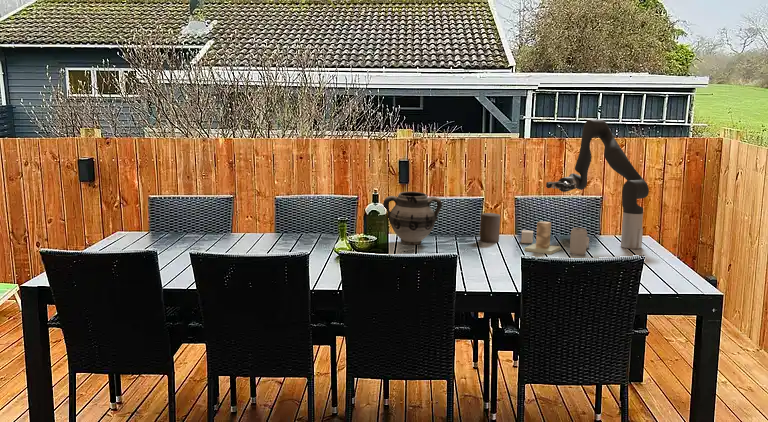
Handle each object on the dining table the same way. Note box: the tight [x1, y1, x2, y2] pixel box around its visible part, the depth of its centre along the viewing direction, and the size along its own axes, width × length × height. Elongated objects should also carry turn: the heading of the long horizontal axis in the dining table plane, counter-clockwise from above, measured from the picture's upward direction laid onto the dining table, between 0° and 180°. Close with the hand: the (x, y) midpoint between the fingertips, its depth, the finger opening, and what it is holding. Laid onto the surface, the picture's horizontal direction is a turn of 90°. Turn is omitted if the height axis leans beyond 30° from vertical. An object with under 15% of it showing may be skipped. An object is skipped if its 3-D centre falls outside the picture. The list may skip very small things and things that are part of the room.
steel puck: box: [586, 236, 590, 250], centre depth 334 cm, size 6×6×5 cm
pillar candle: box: [479, 211, 501, 244], centre depth 347 cm, size 10×10×15 cm
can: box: [569, 227, 588, 256], centre depth 321 cm, size 8×8×12 cm
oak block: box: [535, 220, 552, 249], centre depth 327 cm, size 5×5×12 cm
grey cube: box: [520, 229, 534, 244], centre depth 348 cm, size 6×6×6 cm
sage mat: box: [524, 242, 562, 255], centre depth 328 cm, size 13×13×2 cm
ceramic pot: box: [382, 190, 443, 246], centre depth 337 cm, size 29×23×25 cm
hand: (556, 186), depth 347 cm, fingers open, 8 cm apart
